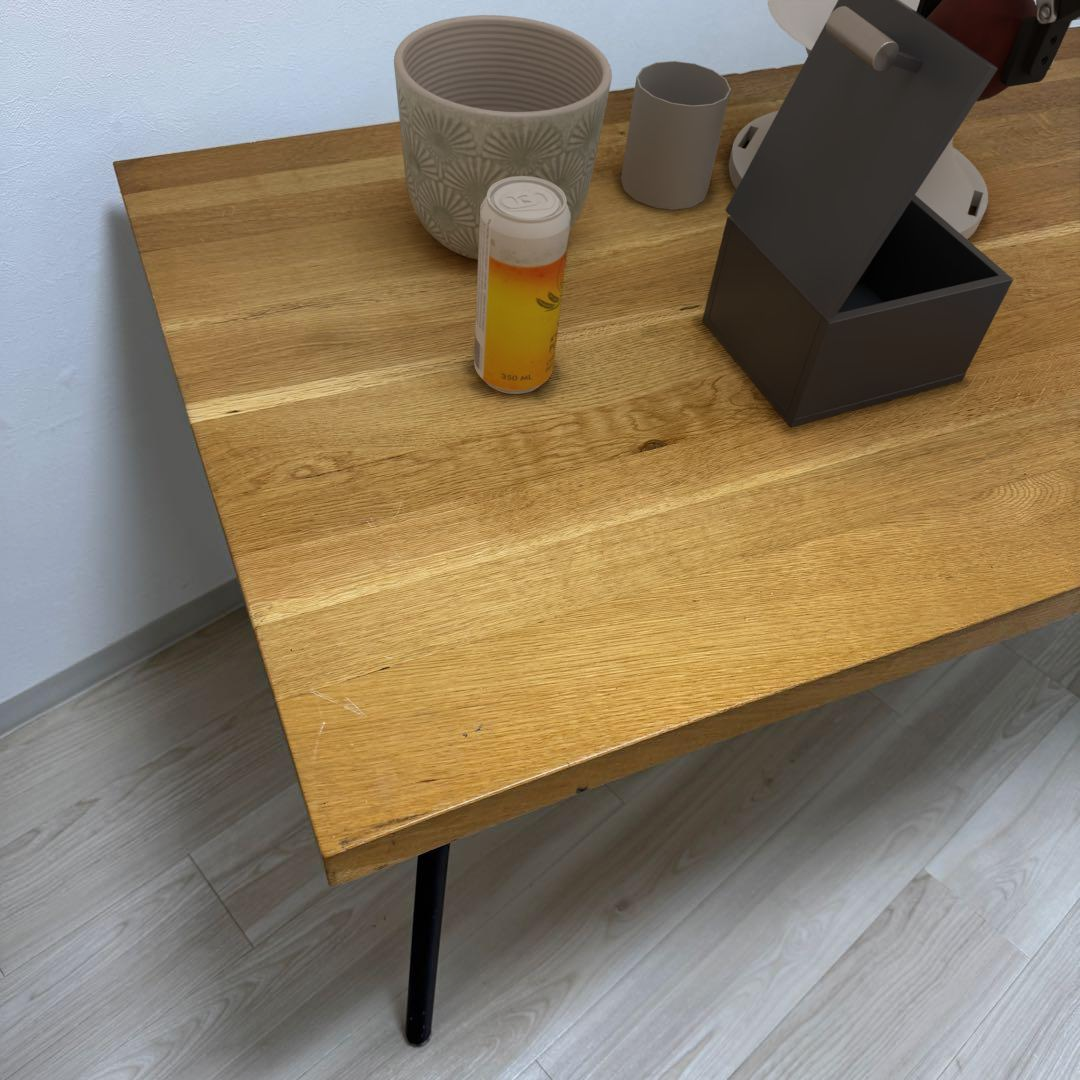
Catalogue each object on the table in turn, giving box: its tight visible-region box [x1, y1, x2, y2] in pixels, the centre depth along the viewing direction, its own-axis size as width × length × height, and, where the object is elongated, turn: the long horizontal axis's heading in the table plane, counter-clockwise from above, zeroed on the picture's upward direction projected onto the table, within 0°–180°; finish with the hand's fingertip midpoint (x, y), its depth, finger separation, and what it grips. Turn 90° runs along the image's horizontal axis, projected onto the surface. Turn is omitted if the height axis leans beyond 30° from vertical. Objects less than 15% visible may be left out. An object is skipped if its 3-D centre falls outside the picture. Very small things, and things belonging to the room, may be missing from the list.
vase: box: [728, 0, 1056, 240], centre depth 96 cm, size 25×25×16 cm
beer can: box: [473, 176, 571, 395], centre depth 73 cm, size 6×6×15 cm
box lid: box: [725, 0, 997, 318], centre depth 67 cm, size 17×14×5 cm
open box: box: [701, 195, 1014, 428], centre depth 80 cm, size 17×14×10 cm
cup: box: [620, 60, 732, 211], centre depth 95 cm, size 8×8×10 cm
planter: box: [393, 14, 613, 261], centre depth 85 cm, size 17×17×15 cm
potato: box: [926, 0, 1036, 102], centre depth 66 cm, size 7×8×7 cm
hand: (975, 50), depth 67 cm, fingers closed on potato, 8 cm apart
